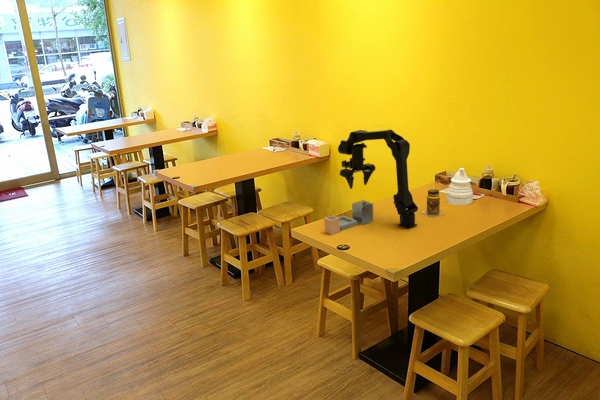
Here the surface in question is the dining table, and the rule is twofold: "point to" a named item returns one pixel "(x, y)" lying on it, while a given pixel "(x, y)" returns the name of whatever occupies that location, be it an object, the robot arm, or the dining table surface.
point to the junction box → (362, 212)
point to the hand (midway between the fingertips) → (358, 186)
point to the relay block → (332, 224)
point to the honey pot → (460, 189)
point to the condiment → (433, 203)
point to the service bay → (346, 222)
